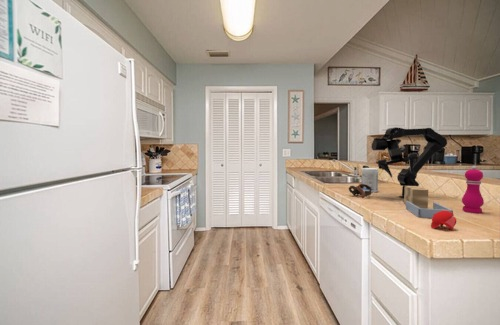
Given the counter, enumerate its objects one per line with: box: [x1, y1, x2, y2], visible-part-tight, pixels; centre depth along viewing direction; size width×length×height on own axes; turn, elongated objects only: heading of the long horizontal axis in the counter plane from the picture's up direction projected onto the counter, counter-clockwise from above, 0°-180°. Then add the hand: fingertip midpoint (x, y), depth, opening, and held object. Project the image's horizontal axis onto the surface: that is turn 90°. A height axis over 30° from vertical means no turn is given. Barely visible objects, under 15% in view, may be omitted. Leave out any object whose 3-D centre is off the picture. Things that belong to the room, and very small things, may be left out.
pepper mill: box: [461, 165, 485, 214], centre depth 111 cm, size 7×7×20 cm
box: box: [405, 201, 454, 219], centre depth 108 cm, size 16×12×4 cm
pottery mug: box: [348, 183, 372, 199], centre depth 146 cm, size 12×10×8 cm
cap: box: [430, 210, 457, 231], centre depth 89 cm, size 8×6×6 cm
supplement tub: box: [361, 167, 379, 193], centre depth 163 cm, size 10×10×15 cm
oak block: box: [403, 185, 429, 209], centre depth 121 cm, size 12×6×9 cm, turn 165°
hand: (401, 175), depth 132 cm, fingers open, 9 cm apart
